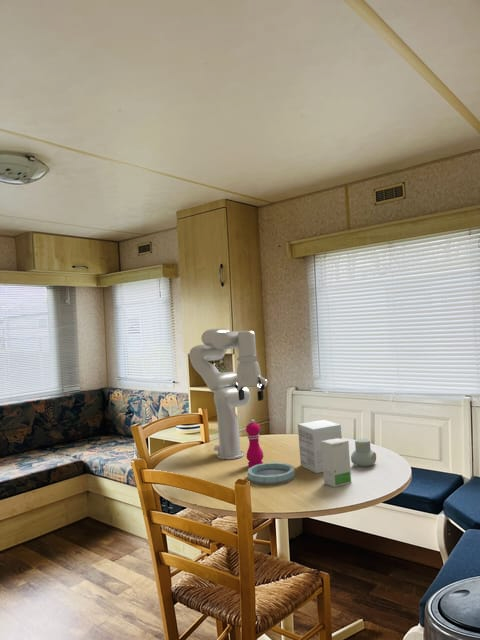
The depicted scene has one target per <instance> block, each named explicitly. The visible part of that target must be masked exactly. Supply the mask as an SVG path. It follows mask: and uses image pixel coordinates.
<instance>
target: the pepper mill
mask: <svg viewBox="0 0 480 640" xmlns="http://www.w3.org/2000/svg"><path fill="white" fill-rule="evenodd" d="M245 431H246V433H247V439H248V442H249V443H248V444H249V445H248V448H247V451H246V459H247V460H248V462H247V465H248V466H247V467H248V469H249V468H251V467H253V466H255V465H258V464H263V463H264V461H263V459H264V458H265V457H264V456H265V455H264V452H263V449H262V448H261V446H260V442H259V441H260V440H259V439H260V432H261V426H260V425H259V424H258V423H256V422H255V419H252V418H251V420H250V422H249V423H248V424H247V425H246V426H245Z"/></svg>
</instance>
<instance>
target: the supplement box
mask: <svg viewBox="0 0 480 640" xmlns="http://www.w3.org/2000/svg"><path fill="white" fill-rule="evenodd" d="M297 429H298V432H297V434H298V445H299V446H298V447H299V460H300V461H299V462H300V466H301V467H303V468H305V469H307V470H309V471H311V472H313V473H315V474H319V473H323V458H322V444H321V441H325V440H329V439H337V438H339V439H343V438H342V425H341V424H339V423H336V422H333V421H330V420H326V419H320V420H313V421H309V422H301V423H297Z"/></svg>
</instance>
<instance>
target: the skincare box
mask: <svg viewBox="0 0 480 640" xmlns="http://www.w3.org/2000/svg"><path fill="white" fill-rule="evenodd" d="M321 444H322V458H323V472H322V473H323V483H324V484H325V485H327V486H330V487H332V488H337V487H342V486H344V485H349V484H352V471H351V470H352V469H351V455H350V446H349V440H347V439H344V438H342V439H339V438H337V439H329V440H325V441H321Z"/></svg>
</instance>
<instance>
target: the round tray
mask: <svg viewBox="0 0 480 640" xmlns="http://www.w3.org/2000/svg"><path fill="white" fill-rule="evenodd" d="M295 475H296V474H295V466H294V465H291V464H289V463H284V462H278V461H277V462H265V463H264V462H263V464H258V465H255V466H253V467H251V468H249V467H248V469H247V478H248V481H249V483H252V484H254V485H258V486H279V485H285V484H288V483H289V482H292V481H293V480H294V479H295Z"/></svg>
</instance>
